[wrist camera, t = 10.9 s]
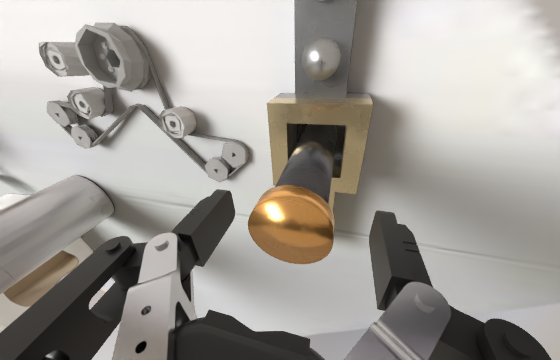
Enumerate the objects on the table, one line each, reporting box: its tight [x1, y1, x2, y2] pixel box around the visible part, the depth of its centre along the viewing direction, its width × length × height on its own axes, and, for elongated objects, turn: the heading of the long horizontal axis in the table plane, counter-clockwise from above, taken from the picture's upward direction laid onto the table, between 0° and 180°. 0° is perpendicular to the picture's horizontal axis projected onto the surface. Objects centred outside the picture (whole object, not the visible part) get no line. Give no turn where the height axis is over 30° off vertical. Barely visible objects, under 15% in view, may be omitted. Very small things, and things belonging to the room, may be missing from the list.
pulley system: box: [39, 23, 249, 182], centre depth 23 cm, size 27×5×15 cm
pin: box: [248, 124, 337, 264], centre depth 15 cm, size 4×4×13 cm
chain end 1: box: [275, 0, 370, 167], centre depth 16 cm, size 8×17×3 cm, turn 3°
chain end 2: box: [267, 98, 373, 256], centre depth 21 cm, size 8×17×4 cm, turn 3°
